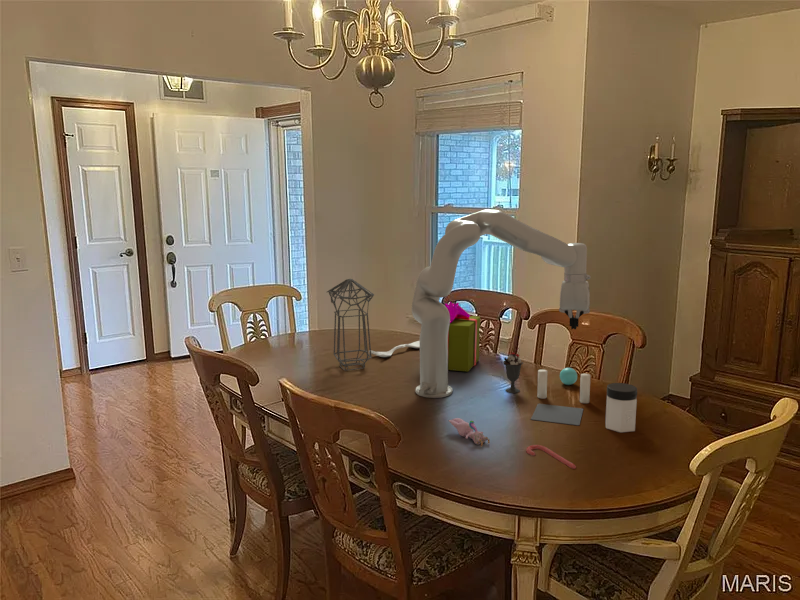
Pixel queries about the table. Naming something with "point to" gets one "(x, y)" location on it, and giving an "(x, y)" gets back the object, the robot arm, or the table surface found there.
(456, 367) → the gift box
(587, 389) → the right post
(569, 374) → the ball
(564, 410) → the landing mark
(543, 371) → the left post
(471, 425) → the pink elongated figure
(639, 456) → the table surface
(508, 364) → the sundae
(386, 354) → the spoon
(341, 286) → the geometric lantern
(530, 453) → the candy cane
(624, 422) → the jar
